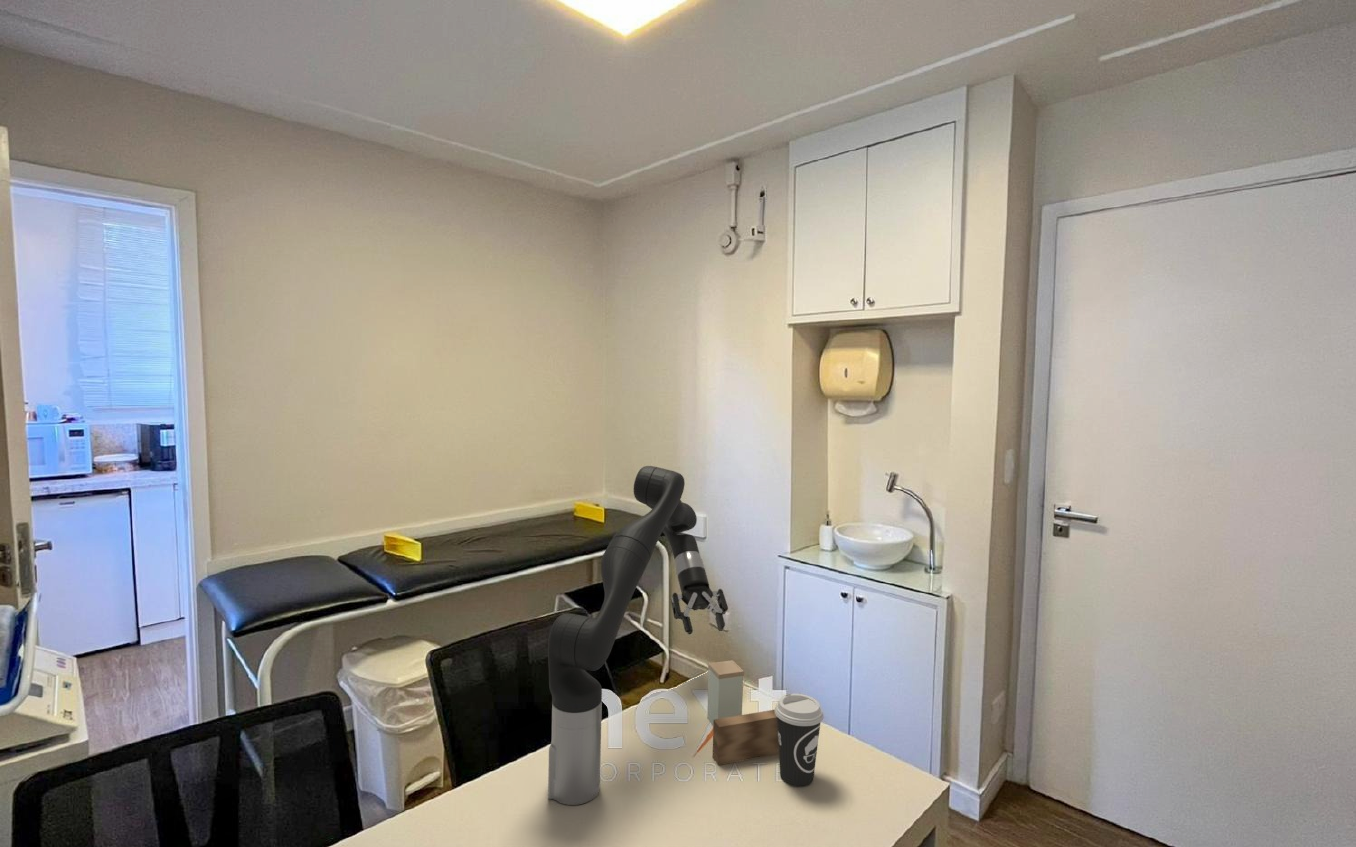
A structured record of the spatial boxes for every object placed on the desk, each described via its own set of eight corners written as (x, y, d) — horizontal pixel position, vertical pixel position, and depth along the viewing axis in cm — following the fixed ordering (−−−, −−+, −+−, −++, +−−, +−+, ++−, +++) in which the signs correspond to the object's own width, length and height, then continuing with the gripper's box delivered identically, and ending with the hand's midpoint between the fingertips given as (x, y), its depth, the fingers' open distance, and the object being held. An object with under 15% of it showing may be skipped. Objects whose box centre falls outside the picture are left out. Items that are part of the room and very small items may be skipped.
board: (718, 765, 127) (719, 726, 127) (712, 757, 130) (713, 719, 130) (787, 751, 133) (788, 715, 133) (780, 744, 136) (781, 708, 135)
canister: (717, 731, 140) (718, 674, 140) (706, 717, 146) (708, 663, 146) (742, 727, 142) (743, 671, 142) (730, 713, 148) (732, 660, 148)
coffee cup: (813, 762, 129) (816, 691, 129) (827, 791, 120) (830, 715, 119) (767, 762, 129) (770, 691, 128) (778, 792, 119) (780, 715, 118)
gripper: (669, 567, 161) (683, 627, 150) (720, 563, 165) (737, 621, 155) (662, 581, 166) (675, 640, 155) (711, 577, 171) (727, 634, 160)
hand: (706, 631), depth 155 cm, fingers open, 8 cm apart
